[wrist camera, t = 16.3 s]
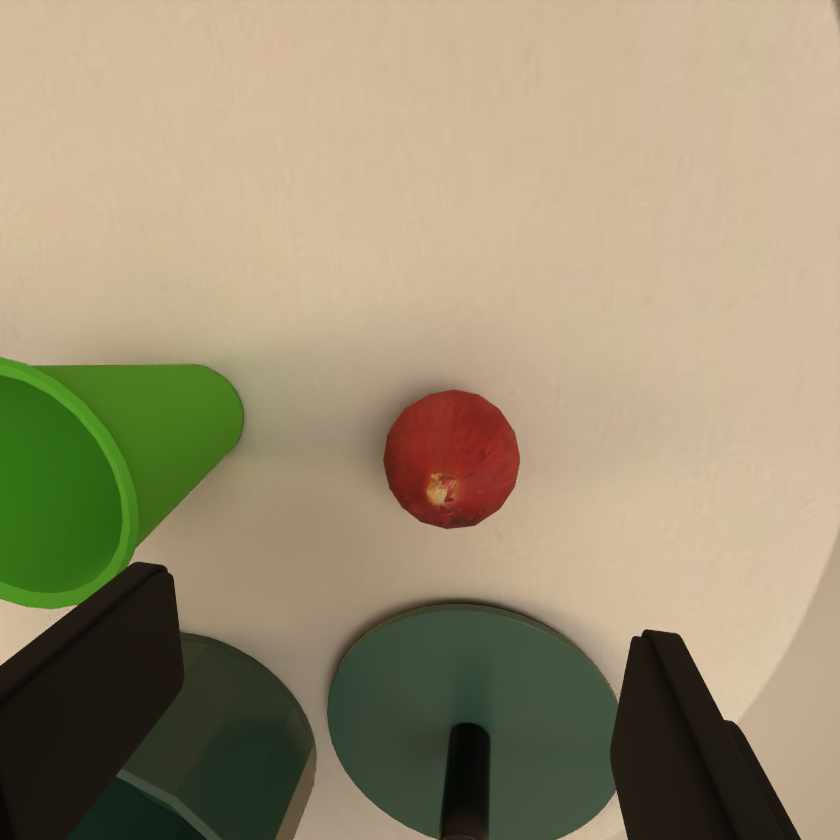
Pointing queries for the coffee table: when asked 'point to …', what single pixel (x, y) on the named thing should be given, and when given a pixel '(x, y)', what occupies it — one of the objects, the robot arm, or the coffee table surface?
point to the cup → (98, 467)
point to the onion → (451, 459)
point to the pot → (213, 759)
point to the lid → (474, 725)
